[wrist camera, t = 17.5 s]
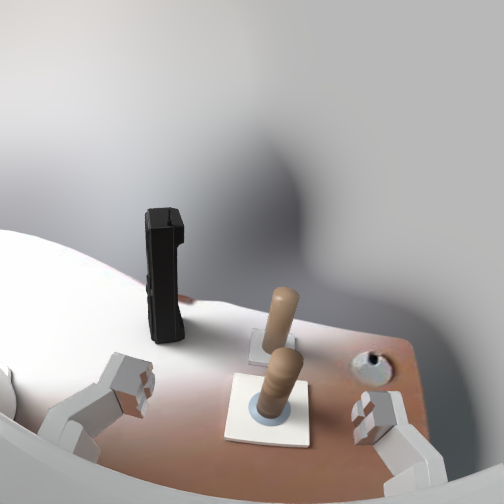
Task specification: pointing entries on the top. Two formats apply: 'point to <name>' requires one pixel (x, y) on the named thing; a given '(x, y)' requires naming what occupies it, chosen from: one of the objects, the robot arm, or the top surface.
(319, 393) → the top surface
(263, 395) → the walnut pin
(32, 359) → the top surface
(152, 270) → the portable radio
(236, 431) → the plate
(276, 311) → the tan wooden dowel
